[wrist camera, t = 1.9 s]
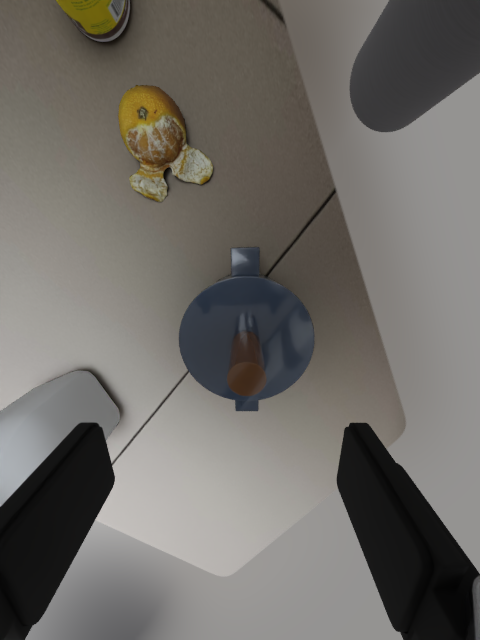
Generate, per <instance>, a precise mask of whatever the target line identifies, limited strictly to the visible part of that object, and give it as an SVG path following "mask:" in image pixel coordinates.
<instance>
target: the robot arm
mask: <svg viewBox="0 0 480 640" xmlns="http://www.w3.org/2000/svg"><path fill="white" fill-rule="evenodd" d="M114 481H115V476H114V472H113V468H112V464H111V460H110V456H109V452H108V448H107V444H106V440H105V436H104V432H103V428H102V427H100V426H99V424H98V423H95V422H81V423H79V424H78V425H77V426H76V427H75V428H74V429H73V430H72V431H71V432H70V433H69V434H68V435H67V436H66V437H65V438H64V439H63V440H62V442H61V443H60V444H59V445H58V446H57V447H56V448H55V449H54V450H53V451H52V452H51V453H50V454H49V455H48V457H47V458H46V459H45V460H44V461H43V462H42V463H41V464H40V465H39V466H38V467H37V468H36V469H35V470H34V471H33V473H32V474H31V475H30V476H29V477H28V478H27V479H26V480H25V481H24V482H23V483H22V484H21V485H20V486H19V488H18V489H17V490H16V491H15V492H14V493H13V494H12V495H11V496H10V497H9V498H8V499H7V500H6V501H5V502H4V504H3V505H2V506H1V507H0V640H25V638H26V636H27V635H28V633H29V631H30V629H31V627H32V625H34V624H36V623H37V622H38V621H39V620H40V619H41V617H42V616H43V614H44V613H45V611H46V609H47V607H48V605H49V603H50V602H51V600H52V598H53V596H54V594H55V593H56V590H57V589H58V587H59V585H60V583H61V581H62V580H63V578H64V576H65V574H66V572H67V570H68V569H69V567H70V565H71V563H72V561H73V559H74V558H75V556H76V554H77V552H78V550H79V548H80V546H81V545H82V543H83V541H84V539H85V537H86V535H87V534H88V532H89V530H90V528H91V526H92V524H93V523H94V521H95V519H96V517H97V515H98V514H99V512H100V510H101V508H102V506H103V504H104V502H105V501H106V499H107V497H108V495H109V493H110V491H111V490H112V488H113V485H114ZM337 486H338V489H339V492H340V494H341V497H342V499H343V502H344V505H345V507H346V510H347V512H348V515H349V517H350V520H351V523H352V525H353V528H354V530H355V533H356V535H357V538H358V540H359V543H360V546H361V548H362V551H363V553H364V556H365V558H366V561H367V563H368V566H369V569H370V571H371V574H372V576H373V579H374V581H375V584H376V586H377V589H378V592H379V594H380V597H381V599H382V601H383V604H384V607H385V610H386V612H387V615H388V617H389V619H390V622H391V624H392V626H393V627H394V629H395V630H396V631H398V632H401V635H402V637H403V640H480V574H479V572H478V571H477V569H476V568H475V567H474V565H473V564H472V563H471V561H470V560H469V558H468V557H467V556H466V554H465V553H464V551H463V550H462V549H461V547H460V546H459V545H458V543H457V542H456V540H455V539H454V538H453V536H452V535H451V533H450V532H449V531H448V529H447V528H446V526H445V525H444V524H443V522H442V521H441V520H440V518H439V517H438V515H437V514H436V513H435V511H434V510H433V509H432V507H431V506H430V504H429V503H428V502H427V500H426V499H425V497H424V496H423V495H422V493H421V492H420V490H419V489H418V488H417V487H416V485H415V484H414V482H413V481H412V479H411V478H410V477H409V475H408V474H407V473H406V471H405V470H404V469H403V468H402V466H400V465H399V464H398V463H396V462H395V461H394V459H393V458H392V457H391V455H390V454H389V452H388V451H387V449H386V448H385V447H384V445H383V444H382V442H381V441H380V440H379V438H378V437H377V435H376V434H375V432H374V431H373V430H372V428H371V427H370V426H369V424H367V423H350V424H349V427H346V428H345V430H344V437H343V443H342V449H341V455H340V461H339V467H338V473H337Z"/></svg>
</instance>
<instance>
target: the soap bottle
mask: <svg viewBox="0 0 480 640" xmlns="http://www.w3.org/2000/svg"><path fill="white" fill-rule="evenodd" d="M119 420H120V413H119V409H118V408H117V406H116V405H115V404H114V402H113V401H112V400H111V398H110V397H109V395H108V394H107V393H106V391H105V390H104V389H103V387H102V386H101V384H100V383H99V382H98V380H97V379H96V378H95V376H94V375H92V374H91V373H90V372H89V371H74V372H71V373H69V374H66V375H64V376H62V377H59V378H57V379H54V380H52V381H50V382H47V383H45V384H43V385H40V386H38V387H36V388H34V389H32V390H31V391H29V392H28V393H26V394H25V395H23V396H22V397H20V398H19V399H17V400H16V401H15V402H13V403H12V404H10V405H9V406H7V407H6V408H4V409H3V410H1V411H0V507H1V506H2V505H3V504H4V502H5V501H6V500H7V499H8V498H9V497H10V496H11V495H12V494H13V493H14V492H15V491H16V490H17V489H18V488H19V486H20V485H21V484H22V483H23V482H24V481H25V480H26V479H27V478H28V477H29V476H30V475H31V474H32V473H33V471H34V470H35V469H36V468H37V467H38V466H39V465H40V464H41V463H42V462H43V461H44V460H45V459H46V458H47V457H48V455H49V454H50V453H51V452H52V451H53V450H54V449H55V448H56V447H57V446H58V445H59V444H60V443H61V442H62V440H63V439H64V438H65V437H66V436H67V435H68V434H69V433H70V432H71V431H72V430H73V429H74V428H75V427H76V426H77V425H78V424H79V423H81V422H95V423H98V424H99V426H100V427H102V428H103V432H104V436H105V440H107V438H108V437H109V435H110V434H111V433H112V431H113V430H114V428H115V427H116V426H117V424H118V423H119Z"/></svg>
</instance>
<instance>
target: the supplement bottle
mask: <svg viewBox="0 0 480 640" xmlns="http://www.w3.org/2000/svg"><path fill="white" fill-rule="evenodd" d="M56 1H57V3H58V4H59V5H60V6H61V8H62V9H63V10H64V11H65V13H66V14H67V15H68V17H69V18H70V19H71V20H72V22H73V23H74V24H75V25H76V26H77V28H78V29H79V30H80V31H81V32H82V33H84V34H85V35H86V36H88V37H89V38H91V39H93V40H96V41H99V42H107V41H111V40H114V39H115V38H117V37H118V36H119V35H120V34H121V33H122V32H123V30H124V28H125V27H126V24H127V22H128V18H129V12H130V0H56Z"/></svg>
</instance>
